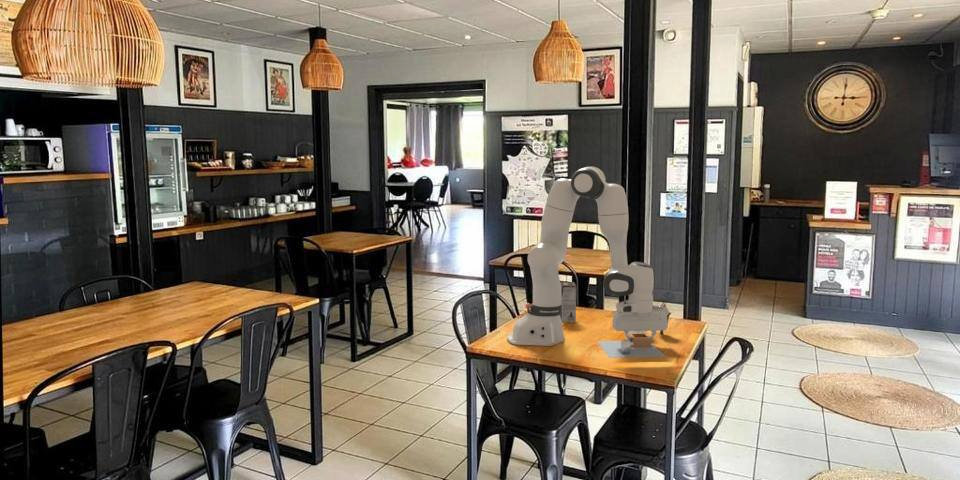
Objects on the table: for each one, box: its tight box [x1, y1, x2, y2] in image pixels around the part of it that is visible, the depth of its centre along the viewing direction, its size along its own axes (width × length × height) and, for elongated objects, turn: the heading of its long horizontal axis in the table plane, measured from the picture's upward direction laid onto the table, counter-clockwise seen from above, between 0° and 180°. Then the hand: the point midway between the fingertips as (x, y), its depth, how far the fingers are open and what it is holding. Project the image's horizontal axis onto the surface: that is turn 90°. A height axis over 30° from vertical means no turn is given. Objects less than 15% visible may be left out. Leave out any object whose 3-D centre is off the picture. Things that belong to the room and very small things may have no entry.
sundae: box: [659, 301, 672, 336], centre depth 262 cm, size 7×7×15 cm
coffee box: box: [560, 281, 577, 323], centre depth 291 cm, size 9×6×16 cm
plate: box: [596, 340, 666, 359], centre depth 243 cm, size 20×20×2 cm
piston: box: [620, 339, 630, 354], centre depth 237 cm, size 3×3×4 cm
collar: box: [627, 332, 652, 347], centre depth 248 cm, size 7×7×4 cm
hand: (639, 341), depth 248 cm, fingers closed on collar, 7 cm apart
